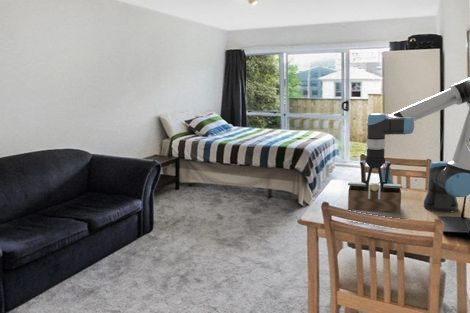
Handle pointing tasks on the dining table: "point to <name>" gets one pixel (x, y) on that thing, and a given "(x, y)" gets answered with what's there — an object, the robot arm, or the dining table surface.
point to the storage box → (374, 199)
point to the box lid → (375, 185)
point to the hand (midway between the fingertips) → (374, 197)
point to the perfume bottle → (388, 175)
